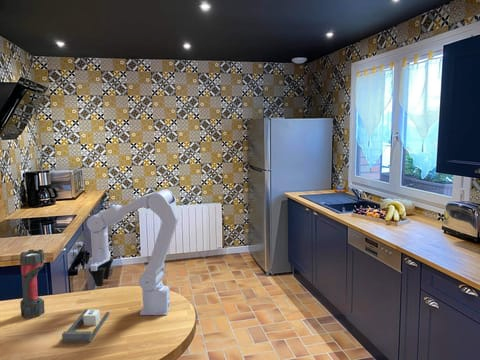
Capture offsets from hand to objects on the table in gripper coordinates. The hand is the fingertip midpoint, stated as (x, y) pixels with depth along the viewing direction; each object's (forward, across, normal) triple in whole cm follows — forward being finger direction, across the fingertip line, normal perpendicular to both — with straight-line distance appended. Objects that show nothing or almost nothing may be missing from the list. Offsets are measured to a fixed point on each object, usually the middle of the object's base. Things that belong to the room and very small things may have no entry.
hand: (102, 282), depth 136 cm
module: (+10, +11, 0) cm, 15 cm away
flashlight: (+10, +5, -22) cm, 25 cm away
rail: (+9, +14, 0) cm, 17 cm away
